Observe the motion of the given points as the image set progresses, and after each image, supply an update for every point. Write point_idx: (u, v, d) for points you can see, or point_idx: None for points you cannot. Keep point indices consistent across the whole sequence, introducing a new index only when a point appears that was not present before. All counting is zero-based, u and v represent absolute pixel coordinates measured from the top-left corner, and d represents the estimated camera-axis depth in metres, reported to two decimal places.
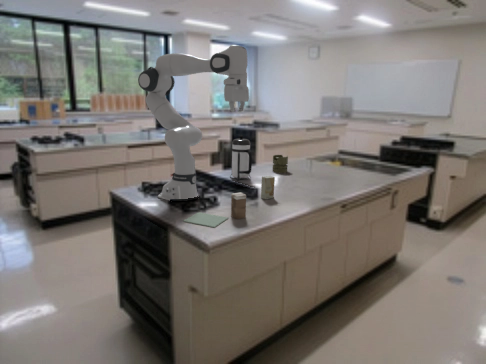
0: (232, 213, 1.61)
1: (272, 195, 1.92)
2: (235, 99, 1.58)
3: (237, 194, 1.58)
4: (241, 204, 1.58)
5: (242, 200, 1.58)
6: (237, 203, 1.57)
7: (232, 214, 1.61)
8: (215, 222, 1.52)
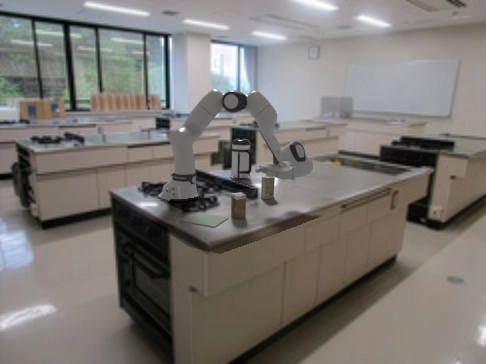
0: (232, 213, 1.61)
1: (272, 195, 1.92)
2: None
3: (237, 194, 1.58)
4: (241, 204, 1.58)
5: (242, 200, 1.58)
6: (237, 203, 1.57)
7: (232, 214, 1.61)
8: (215, 222, 1.52)
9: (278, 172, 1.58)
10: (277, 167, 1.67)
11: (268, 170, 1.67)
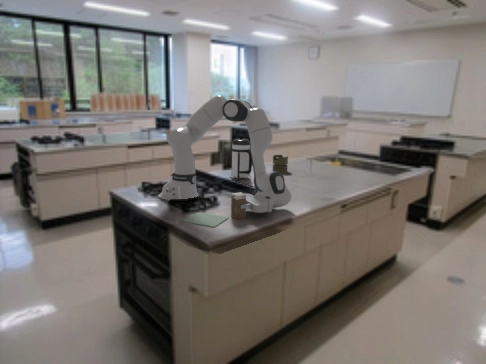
0: (232, 213, 1.60)
1: None
2: None
3: (237, 194, 1.58)
4: None
5: (242, 200, 1.58)
6: (237, 203, 1.57)
7: (232, 214, 1.61)
8: (215, 222, 1.52)
9: (253, 205, 1.55)
10: (254, 198, 1.64)
11: None
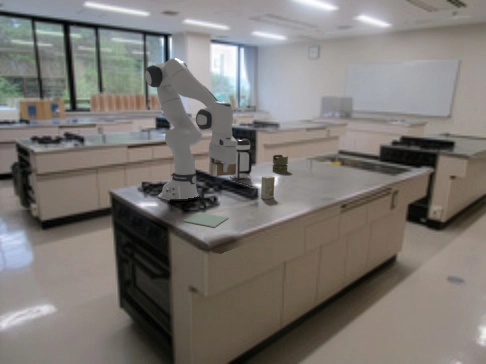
0: None
1: (272, 195, 1.92)
2: None
3: (211, 171, 1.51)
4: None
5: (218, 168, 1.49)
6: (220, 174, 1.51)
7: None
8: (215, 222, 1.52)
9: None
10: (217, 148, 1.50)
11: None
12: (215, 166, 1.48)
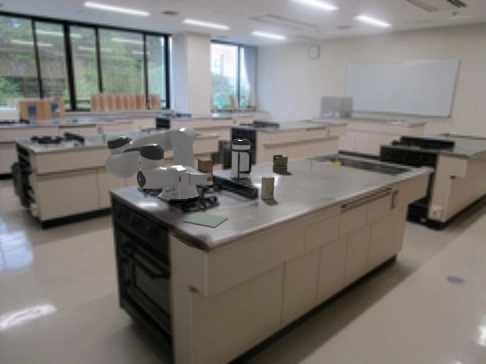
0: None
1: (272, 195, 1.92)
2: (201, 172, 1.43)
3: None
4: None
5: None
6: (211, 176, 1.50)
7: None
8: (215, 222, 1.52)
9: None
10: None
11: None
12: None
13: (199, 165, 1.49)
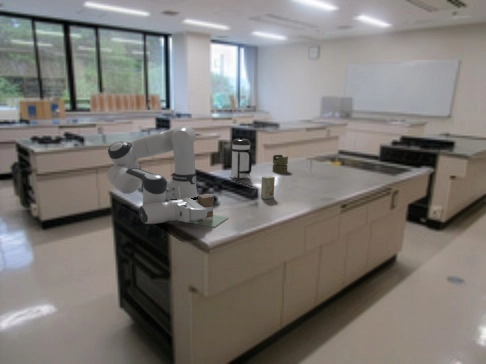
0: None
1: (272, 195, 1.92)
2: (201, 206, 1.47)
3: None
4: None
5: None
6: (211, 212, 1.54)
7: None
8: (215, 222, 1.52)
9: None
10: None
11: None
12: (204, 219, 1.52)
13: (199, 201, 1.53)
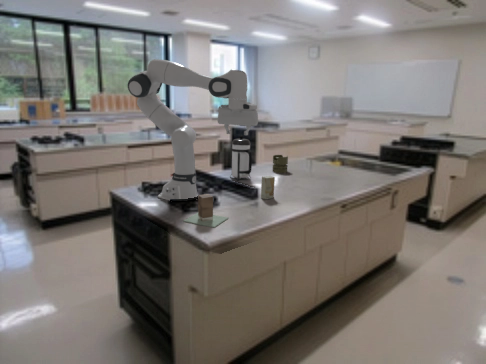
0: None
1: (272, 195, 1.92)
2: None
3: None
4: (207, 211, 1.53)
5: (206, 215, 1.53)
6: (211, 212, 1.54)
7: None
8: (215, 222, 1.52)
9: (250, 125, 1.61)
10: (234, 114, 1.62)
11: None
12: (204, 219, 1.52)
13: (199, 201, 1.53)
